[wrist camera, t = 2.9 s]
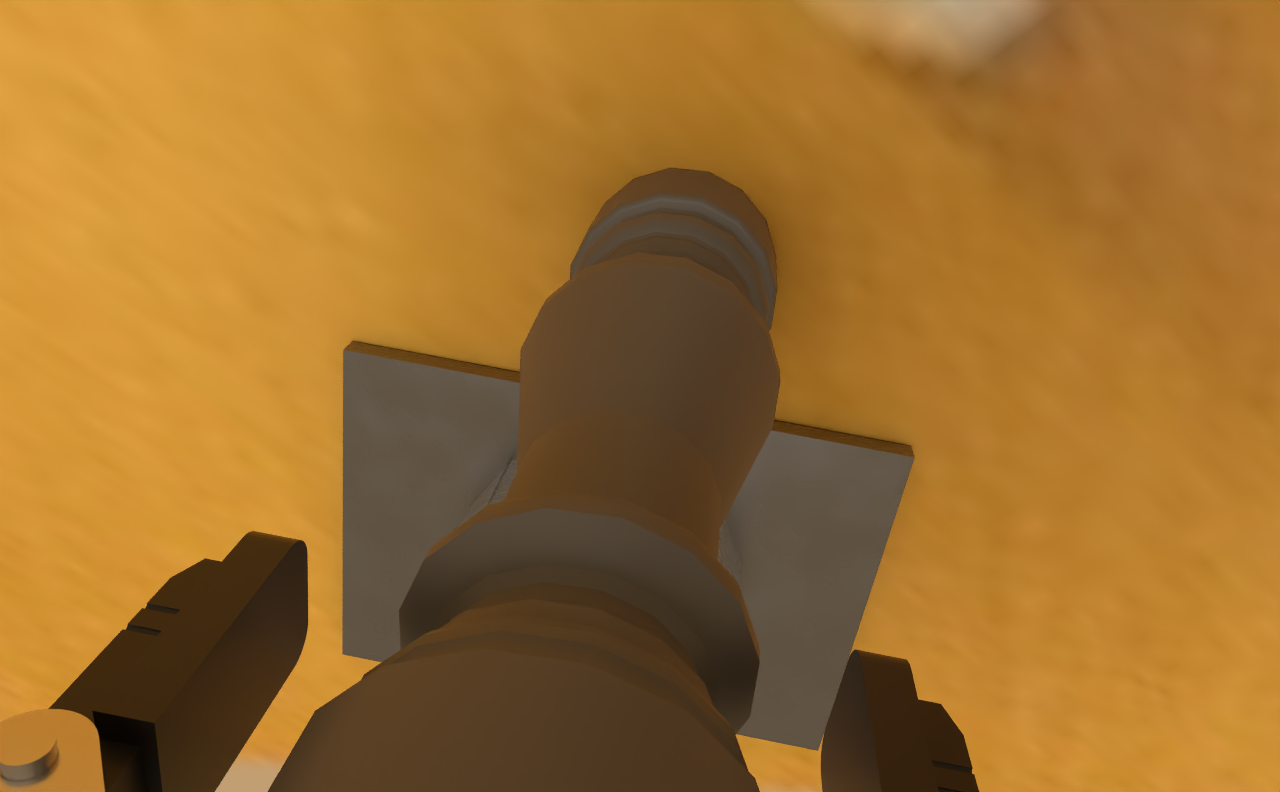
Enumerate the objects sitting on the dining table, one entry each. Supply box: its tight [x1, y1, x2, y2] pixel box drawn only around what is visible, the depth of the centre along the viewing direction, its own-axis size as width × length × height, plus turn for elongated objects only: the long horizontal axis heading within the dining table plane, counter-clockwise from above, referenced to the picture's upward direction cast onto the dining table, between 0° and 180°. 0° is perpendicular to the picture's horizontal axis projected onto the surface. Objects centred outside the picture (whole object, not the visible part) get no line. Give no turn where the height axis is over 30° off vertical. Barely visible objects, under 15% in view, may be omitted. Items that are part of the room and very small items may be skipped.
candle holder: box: [268, 168, 780, 792], centre depth 19 cm, size 6×6×25 cm
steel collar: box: [343, 341, 914, 751], centre depth 33 cm, size 20×14×5 cm
